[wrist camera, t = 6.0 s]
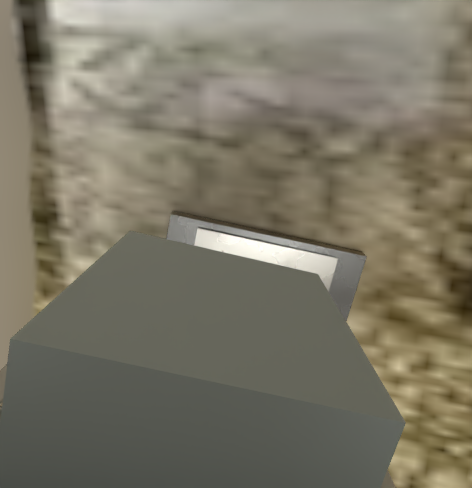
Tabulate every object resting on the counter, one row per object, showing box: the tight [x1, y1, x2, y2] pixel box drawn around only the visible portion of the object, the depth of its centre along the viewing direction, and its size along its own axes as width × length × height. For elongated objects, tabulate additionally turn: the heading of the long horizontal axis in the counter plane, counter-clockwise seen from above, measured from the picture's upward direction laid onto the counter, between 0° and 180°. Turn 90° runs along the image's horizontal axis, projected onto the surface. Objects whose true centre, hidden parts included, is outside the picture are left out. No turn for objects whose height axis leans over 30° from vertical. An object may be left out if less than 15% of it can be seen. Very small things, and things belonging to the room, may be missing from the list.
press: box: [166, 211, 367, 321], centre depth 25 cm, size 23×14×18 cm, turn 168°
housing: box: [0, 231, 405, 488], centre depth 9 cm, size 7×5×6 cm
